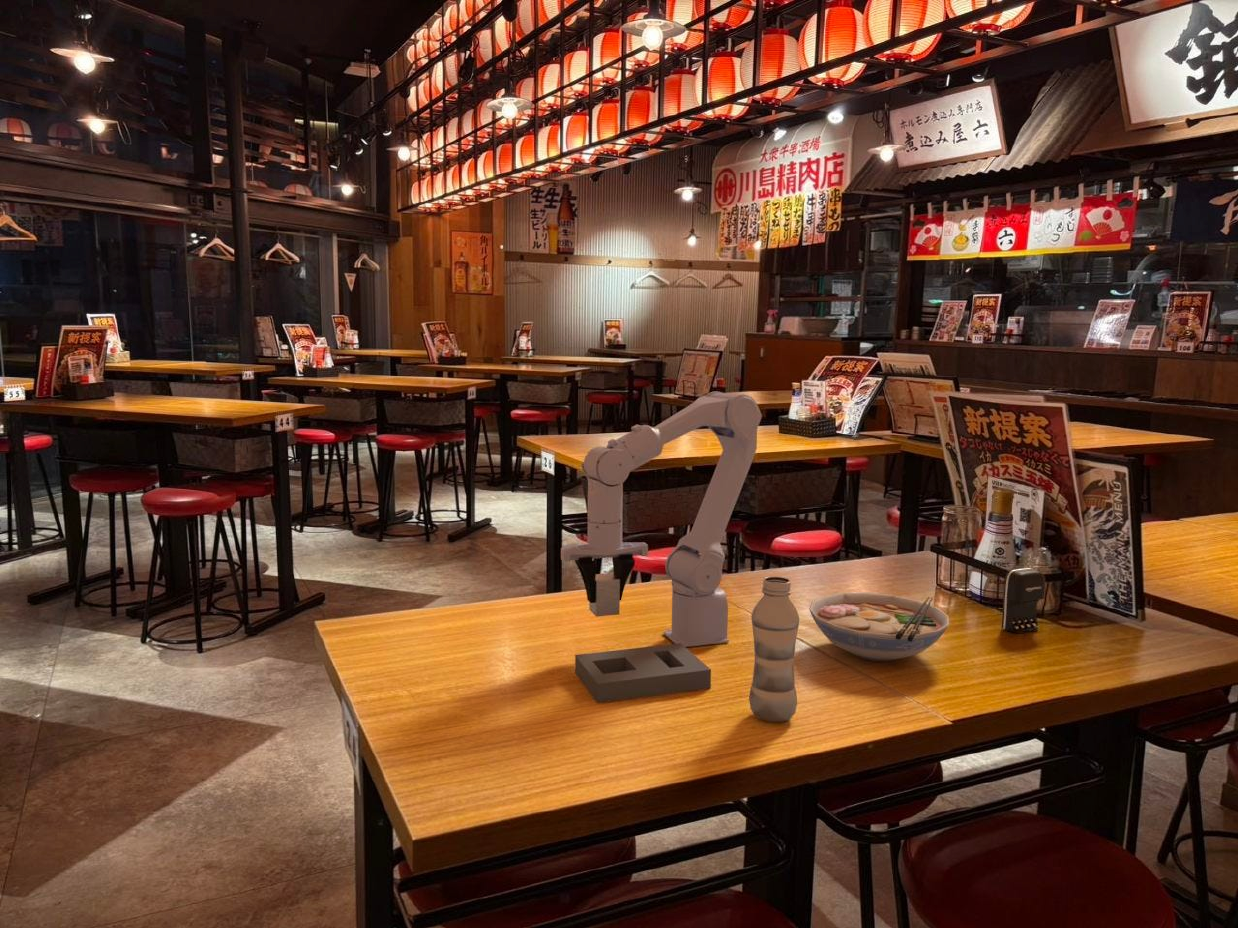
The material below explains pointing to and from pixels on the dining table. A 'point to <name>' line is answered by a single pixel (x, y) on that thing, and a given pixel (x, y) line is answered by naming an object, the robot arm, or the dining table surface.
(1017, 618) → the battery charger
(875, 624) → the ramen bowl
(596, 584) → the square bit
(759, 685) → the plastic bottle
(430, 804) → the dining table surface
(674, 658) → the socket block
